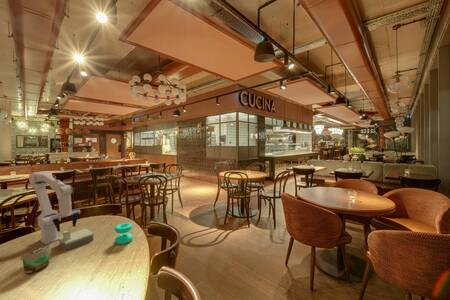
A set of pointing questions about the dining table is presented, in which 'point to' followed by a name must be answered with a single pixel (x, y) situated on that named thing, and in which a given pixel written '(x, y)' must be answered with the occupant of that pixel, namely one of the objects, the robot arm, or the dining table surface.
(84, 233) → the lid
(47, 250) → the food container
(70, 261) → the dining table surface
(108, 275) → the dining table surface
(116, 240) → the donuts
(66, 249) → the tub
